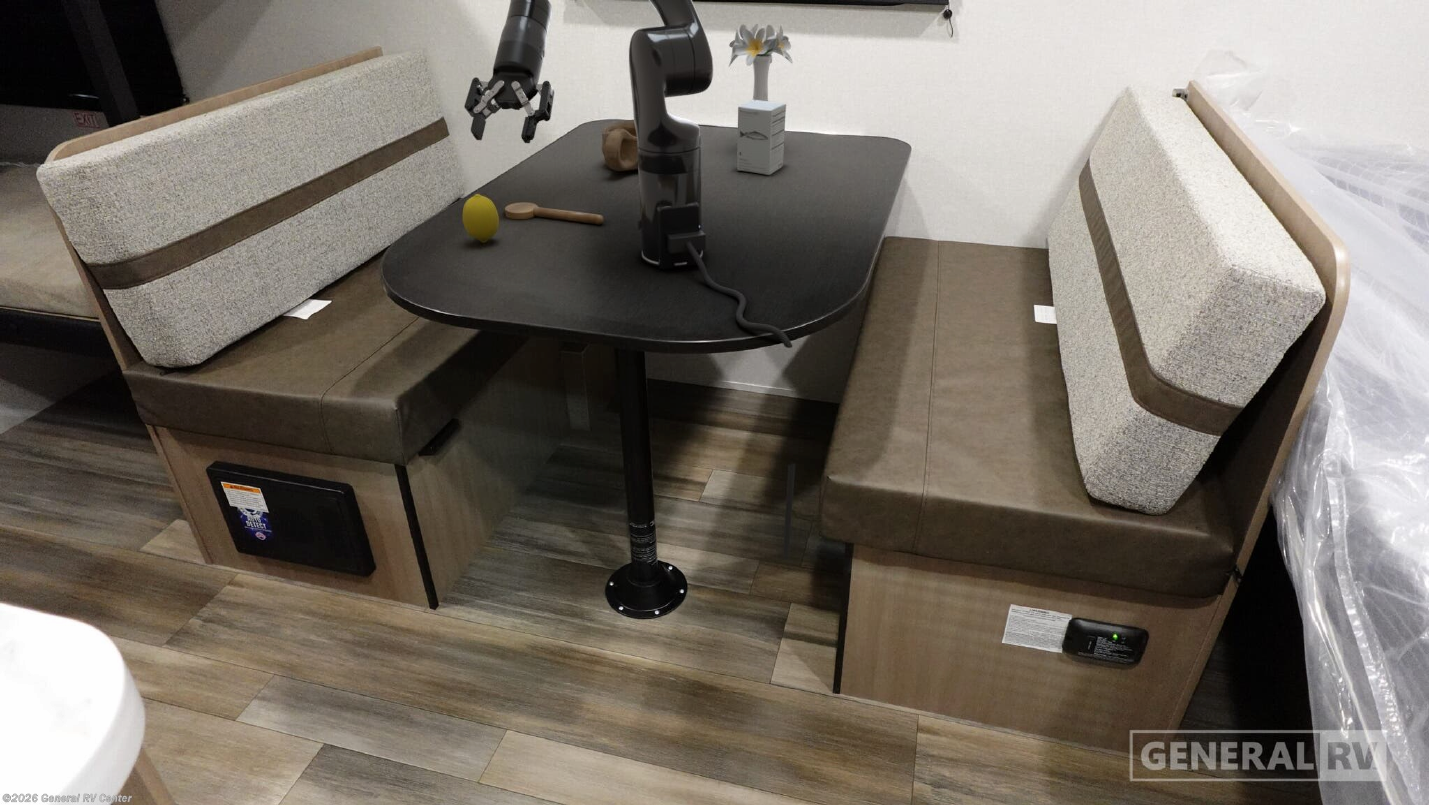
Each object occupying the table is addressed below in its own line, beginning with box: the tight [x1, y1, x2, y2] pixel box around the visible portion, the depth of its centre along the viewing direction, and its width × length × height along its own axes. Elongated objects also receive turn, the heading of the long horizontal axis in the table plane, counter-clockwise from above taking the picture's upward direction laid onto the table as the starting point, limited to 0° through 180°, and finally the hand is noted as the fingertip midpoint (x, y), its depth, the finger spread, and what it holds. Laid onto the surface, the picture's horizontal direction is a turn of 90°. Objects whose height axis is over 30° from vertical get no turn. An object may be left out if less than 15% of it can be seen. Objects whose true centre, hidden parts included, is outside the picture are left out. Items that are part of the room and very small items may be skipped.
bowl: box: [601, 118, 638, 172], centre depth 175 cm, size 18×14×10 cm
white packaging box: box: [736, 99, 787, 176], centre depth 174 cm, size 7×7×13 cm
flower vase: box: [728, 23, 793, 101], centre depth 184 cm, size 13×18×25 cm
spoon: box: [504, 202, 604, 225], centre depth 152 cm, size 19×6×2 cm, turn 70°
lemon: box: [462, 193, 500, 244], centre depth 140 cm, size 6×6×8 cm
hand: (501, 139), depth 144 cm, fingers open, 8 cm apart
